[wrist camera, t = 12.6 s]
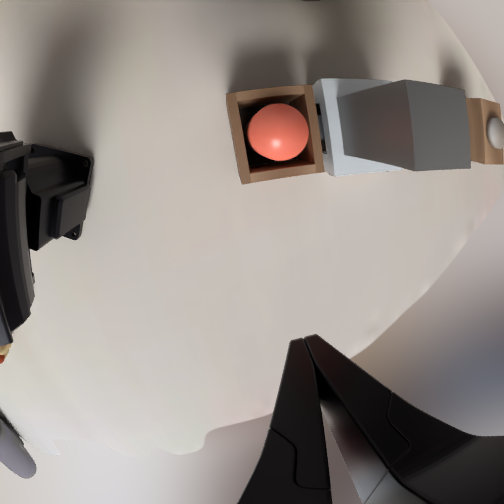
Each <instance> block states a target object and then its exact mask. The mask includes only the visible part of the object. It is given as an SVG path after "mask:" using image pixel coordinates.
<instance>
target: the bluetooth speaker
mask: <svg viewBox="0 0 504 504" xmlns="http://www.w3.org/2000/svg"><path fill="white" fill-rule="evenodd" d="M23 445H24V443H23V442H22V440H21V439H20V437H19V436H18V435H17V433H16V432H15V431H14V430H13V429H12V427H11V426H10V425H8V424H7V423H5V422H3V421H2V420H1V419H0V461H1V462H2V463H3V464H4V465H5V466H7V467H8V468H9V469H10V470H11V471H13V472H14V473H15V474H17V475H19V476H20V477H22V478H31V477H32V476H34V474H35V473H36V464H35V462H34V460H33V459H32V457H31V456H30V455H29V453H28V452H27V450H26V449H25V448H24V446H23Z"/></svg>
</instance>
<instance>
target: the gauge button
mask: <svg viewBox="0 0 504 504" xmlns="http://www.w3.org/2000/svg"><path fill="white" fill-rule="evenodd" d="M308 136H309V130H308V125H307V122H306V120H305V118H304V117H303V115H302V114H301V113H300V112H299V111H298V110H297V109H295V108H294V107H292V106H289V105H286V104H271V105H268V106H266V107H264V108H262V109H261V110H259V111H258V112H257V113H256V114H255V115H254V116H253V117H252V118H251V119H250V120H249V122H248V123H247V125H246V129H245V138H246V141H247V143H248V145H249V147H250V148H251V149H252V150H253V151H255V152H256V153H258V154H260V155H262V156H264V157H267V158H269V159H272V160H277V161H283V160H288V159H291V158H293V157H295V156H297V155H298V154H299V153H300V152H301V151H302V150H303V149H304V147H305V146H306V144H307V141H308Z"/></svg>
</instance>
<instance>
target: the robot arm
mask: <svg viewBox="0 0 504 504" xmlns="http://www.w3.org/2000/svg"><path fill="white" fill-rule="evenodd" d="M34 148H35V152H34ZM85 161H88V166H86V165H85ZM92 168H93V159H92V158H91V157H89V156H86V155H82V154H78V153H74V152H70V151H66V150H62V149H58V148H53V147H49V146H45V145H41V144H32V145H31V143H23V141H17V140H16V139H15V137H14V135H13V133H12V131H8V132H0V346H4V345H8V344H11V343H12V342H13V338H12V335H11V333H12V332H13V331H14V330H16V329H17V328H18V327H19V326H21V325H22V324H23V323H24V322H25V321H26V320H27V318H28V317H29V316H30V314H31V312H30V308H31V305H32V302H33V300H34V297H35V295H34V286H33V285H34V282H35V279H34V273H32V267H31V259H30V249H32V250H34V251H37V250H39V249H40V248H41V247H43V246H44V245H45V244H47V243H48V242H49V241H51V240H52V239H58V238H60V237H61V236H64V237H67V238H69V239H72V240H77V239H78V238H79V237H80V236H81V232H82V224H83V221H84V220H85V218H86V211H87V205H88V199H89V193H90V187H89V182H90V177H91V172H92ZM74 231H75V232H76V235H75V234H74ZM391 392H392V391H391V390H390V389H389V388H387V387H386V386H385V385H383V384H382V383H381V382H379V381H378V380H377V379H375V378H374V377H373V376H371V375H370V374H369V373H367V372H366V371H365V370H363V369H362V368H361V367H359V366H358V365H357V364H355V363H354V362H352V361H351V360H350V359H349V358H347V357H346V356H345V355H343V354H342V353H341V352H339V351H338V350H337V349H335V348H334V347H333V346H332V345H330V344H329V343H328V342H326V341H325V340H324V339H322V338H321V337H320V336H318V335H317V334H314V335H310V336H306V337H304V339H303V338H298V339H295V340H291V341H290V343H289V348H288V353H287V357H286V361H285V366H284V370H283V375H282V379H281V383H280V387H279V391H278V395H277V399H276V403H275V407H274V411H273V416H272V419H271V423H270V427H269V428H270V429H269V430H268V433H267V437H266V440H265V443H264V447H263V450H262V452H261V455H260V458H259V460H258V462H257V465H256V467H255V470H254V472H253V474H252V476H251V478H250V480H249V482H248V484H247V486H246V488H245V489H244V491H243V493H242V495H241V497H240V499H239V501H238V503H237V504H332V498H331V497H332V496H331V485H330V476H329V467H328V458H327V449H326V441H325V433H324V426H323V419H322V412H321V409H322V411H323V413H324V416H325V418H326V420H327V423H328V425H329V427H330V430H331V432H332V434H333V437H334V439H335V441H336V443H337V446H338V448H339V451H340V453H341V455H342V458H343V460H344V462H345V464H346V467H347V469H348V471H349V474H350V476H351V478H352V481H353V483H354V485H355V488H356V490H357V492H358V495H359V497H360V499H361V502H362V504H504V436H476V435H471V434H468V433H465V432H463V431H461V430H459V429H456V428H455V427H452V426H450V425H448V424H446V423H444V422H442V421H440V420H439V419H436V418H435V417H433V416H431V415H429V414H427V413H425V412H423V411H422V410H420V409H418V408H416V407H415V406H413V405H412V404H410V403H409V402H407V401H406V400H404V399H403V398H401V397H400V396H399V395H397V394H396V393H395V392H392V393H391Z"/></svg>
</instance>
